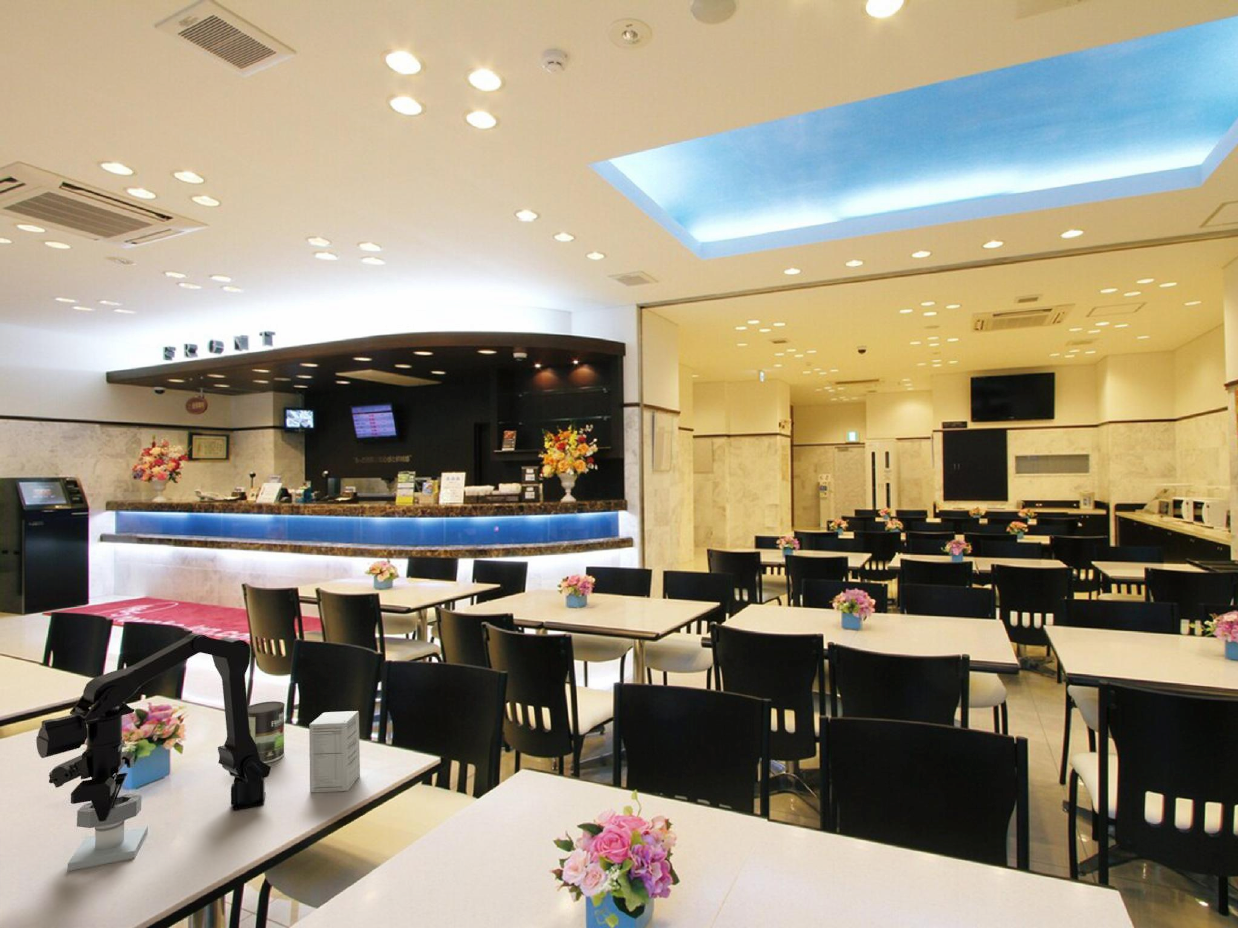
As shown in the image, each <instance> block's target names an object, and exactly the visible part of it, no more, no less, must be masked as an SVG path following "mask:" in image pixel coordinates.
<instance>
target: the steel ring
mask: <svg viewBox="0 0 1238 928" xmlns="http://www.w3.org/2000/svg"><path fill="white" fill-rule="evenodd" d="M141 811H142V794H135V793H126V794H118V796H117V799H116V801H115V803H114V805H113V806H112V807H111V809H110V812H109V814H108V817H107V819H106V820H105V821H101V822H100V821H99V820H98V817H97V814H96V812H95V809H94V806H93V804H92V802H91V801H89V802H87V803H84V804H83V805H82V806H81V807H80V808H79V809H78V810H77V812H76V827H78V828H86V829H92V828H95V827H99V826H105V825H110V824H115V823H118V822H121V821H124V820H125V821H127V820H129V819H132V818H134V817H137V816H138V814H139V813H140V812H141ZM125 821H124V822H125Z"/></svg>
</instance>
